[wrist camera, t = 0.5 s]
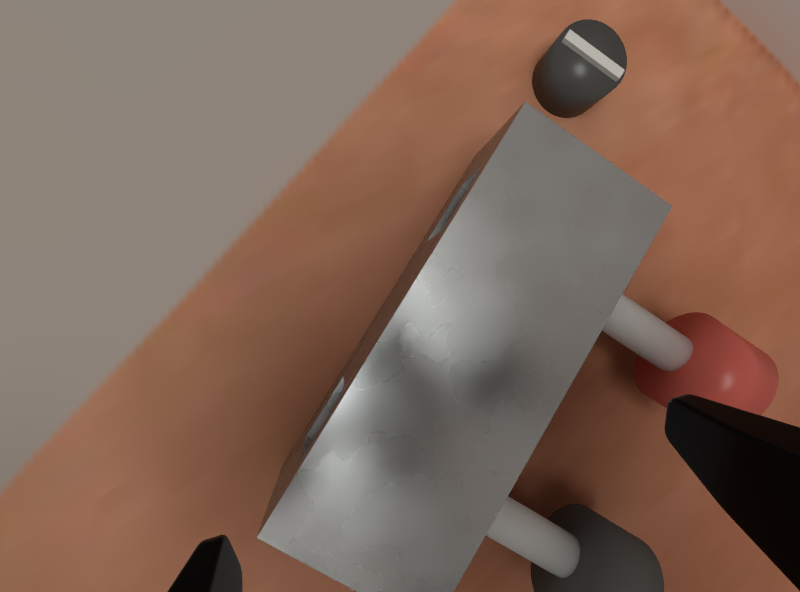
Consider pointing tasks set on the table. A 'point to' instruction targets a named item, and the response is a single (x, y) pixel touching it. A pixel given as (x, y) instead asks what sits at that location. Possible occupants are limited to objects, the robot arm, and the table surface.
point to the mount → (464, 364)
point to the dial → (579, 68)
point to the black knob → (577, 550)
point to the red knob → (693, 358)
